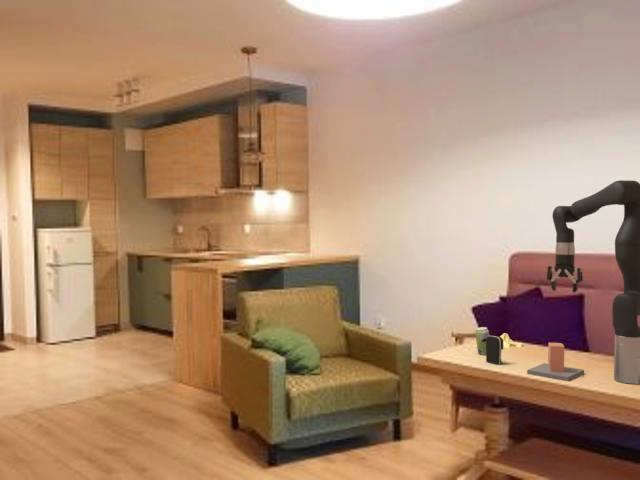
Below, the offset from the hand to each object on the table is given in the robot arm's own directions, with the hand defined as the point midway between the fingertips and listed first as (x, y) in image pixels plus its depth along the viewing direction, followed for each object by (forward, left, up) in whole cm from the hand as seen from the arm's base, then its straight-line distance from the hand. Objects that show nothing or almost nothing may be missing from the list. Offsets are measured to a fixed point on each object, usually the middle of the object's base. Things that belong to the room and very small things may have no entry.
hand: (564, 291), depth 263 cm
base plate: (-6, +22, -30) cm, 38 cm away
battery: (+20, +22, -30) cm, 42 cm away
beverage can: (+32, +10, -30) cm, 45 cm away
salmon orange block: (-6, +22, -29) cm, 37 cm away
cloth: (+36, -16, -31) cm, 50 cm away
